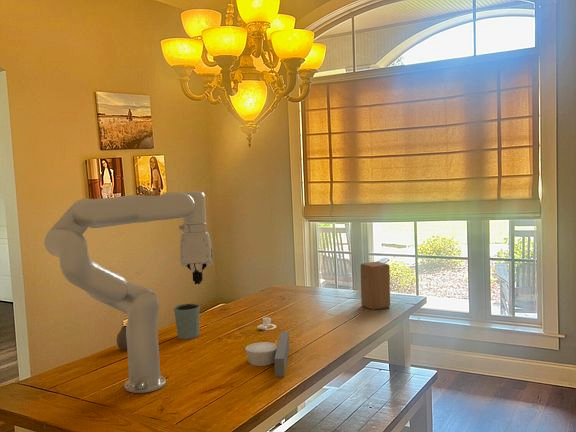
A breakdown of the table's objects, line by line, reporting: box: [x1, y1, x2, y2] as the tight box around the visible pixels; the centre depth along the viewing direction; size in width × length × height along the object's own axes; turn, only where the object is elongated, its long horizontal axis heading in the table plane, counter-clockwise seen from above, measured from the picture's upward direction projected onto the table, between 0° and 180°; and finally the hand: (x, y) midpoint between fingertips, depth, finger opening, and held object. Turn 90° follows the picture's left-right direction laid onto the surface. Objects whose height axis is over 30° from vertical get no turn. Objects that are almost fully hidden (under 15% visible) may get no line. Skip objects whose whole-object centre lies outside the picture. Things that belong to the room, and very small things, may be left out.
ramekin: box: [244, 341, 278, 367], centre depth 199 cm, size 11×11×5 cm
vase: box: [116, 325, 127, 351], centre depth 217 cm, size 7×7×9 cm
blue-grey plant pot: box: [173, 303, 201, 340], centre depth 230 cm, size 10×10×12 cm
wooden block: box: [360, 261, 391, 311], centre depth 264 cm, size 10×10×20 cm
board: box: [274, 331, 290, 378], centre depth 198 cm, size 28×3×6 cm, turn 176°
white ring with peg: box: [257, 316, 277, 331], centre depth 239 cm, size 9×8×4 cm
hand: (198, 283), depth 192 cm, fingers closed
